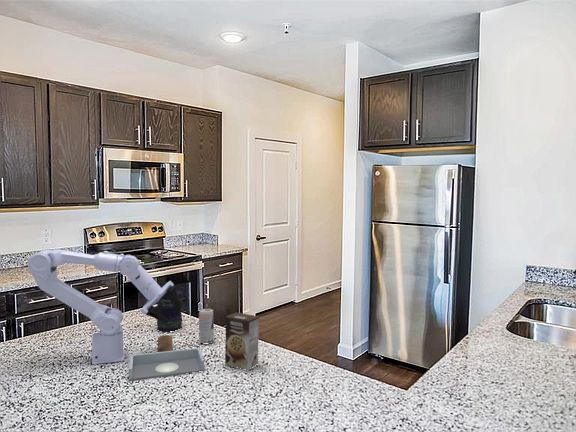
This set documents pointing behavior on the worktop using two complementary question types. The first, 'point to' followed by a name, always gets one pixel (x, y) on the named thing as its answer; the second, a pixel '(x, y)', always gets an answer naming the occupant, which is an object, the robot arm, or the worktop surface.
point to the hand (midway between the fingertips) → (173, 314)
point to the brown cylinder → (164, 343)
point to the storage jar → (170, 314)
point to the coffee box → (241, 340)
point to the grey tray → (165, 364)
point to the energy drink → (206, 326)
